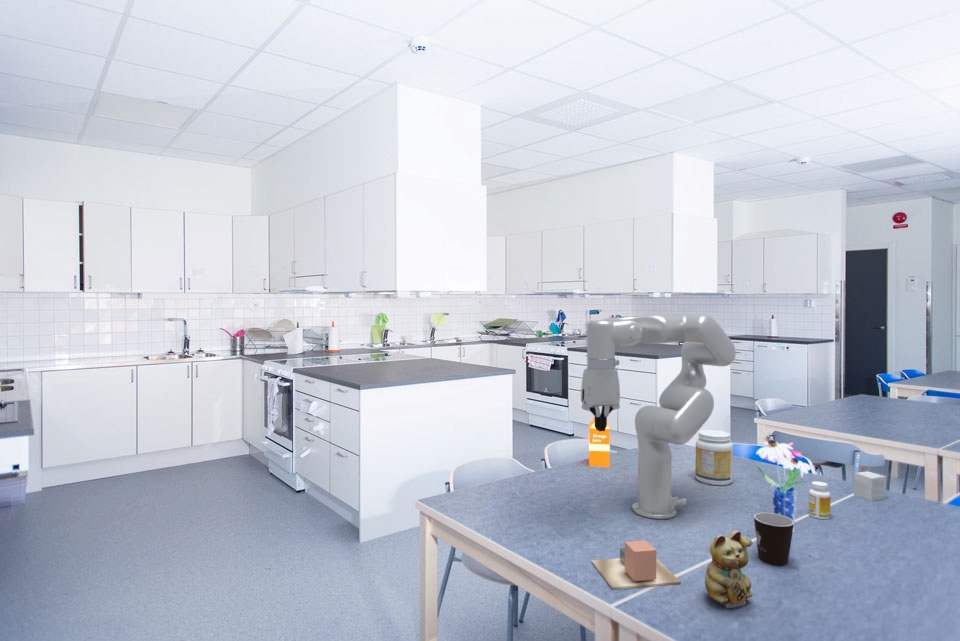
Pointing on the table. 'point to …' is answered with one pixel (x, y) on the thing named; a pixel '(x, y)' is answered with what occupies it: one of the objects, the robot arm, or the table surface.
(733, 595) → the decorative figurine
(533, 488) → the table surface
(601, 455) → the orange juice
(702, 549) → the table surface
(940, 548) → the table surface
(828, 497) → the supplement bottle
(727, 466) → the supplement tub
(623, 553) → the silver gray cube
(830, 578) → the table surface
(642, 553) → the salmon pink toy brick
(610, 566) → the board
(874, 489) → the pale grey block
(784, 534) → the coffee mug
